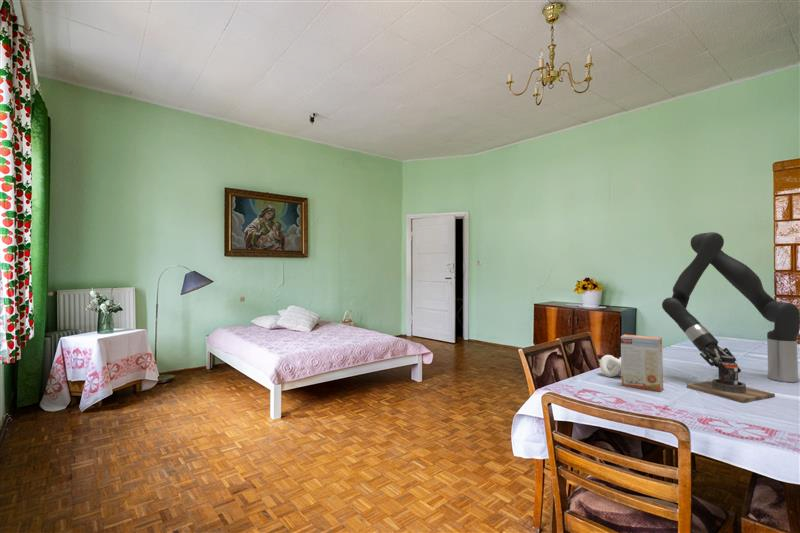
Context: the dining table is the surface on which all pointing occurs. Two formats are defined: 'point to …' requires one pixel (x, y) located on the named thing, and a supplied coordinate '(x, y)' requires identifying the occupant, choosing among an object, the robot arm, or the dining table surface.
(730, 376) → the supplement bottle
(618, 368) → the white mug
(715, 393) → the collar plate
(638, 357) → the cracker box
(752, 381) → the dining table surface
